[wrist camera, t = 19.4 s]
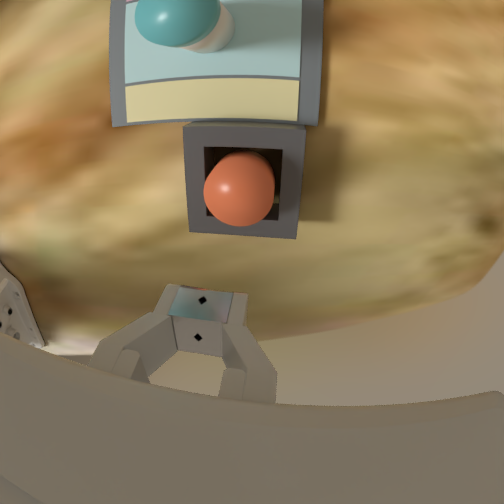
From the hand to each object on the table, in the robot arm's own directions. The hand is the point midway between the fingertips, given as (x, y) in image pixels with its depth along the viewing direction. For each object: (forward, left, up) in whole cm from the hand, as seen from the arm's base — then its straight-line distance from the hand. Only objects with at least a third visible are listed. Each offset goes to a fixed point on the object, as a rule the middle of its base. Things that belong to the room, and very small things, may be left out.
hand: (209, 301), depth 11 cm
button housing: (0, 0, -14) cm, 14 cm away
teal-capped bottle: (+12, +3, -14) cm, 18 cm away
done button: (+1, 0, -12) cm, 12 cm away
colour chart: (+11, +3, -14) cm, 19 cm away
